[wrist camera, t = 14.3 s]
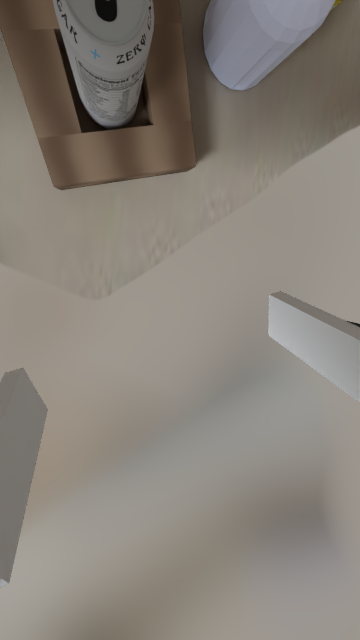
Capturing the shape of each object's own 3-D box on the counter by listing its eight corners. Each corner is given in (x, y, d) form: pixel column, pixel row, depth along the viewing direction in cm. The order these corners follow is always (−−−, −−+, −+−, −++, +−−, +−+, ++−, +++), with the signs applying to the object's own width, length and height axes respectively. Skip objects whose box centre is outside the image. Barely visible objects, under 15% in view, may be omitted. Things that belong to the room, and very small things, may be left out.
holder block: (61, 190, 29) (53, 186, 26) (-3, -5, 22) (-25, -47, 19) (186, 171, 32) (196, 166, 28) (165, -9, 25) (174, -46, 21)
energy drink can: (135, 66, 26) (157, -86, 13) (137, 134, 28) (159, 66, 15) (75, 56, 25) (31, -127, 11) (83, 129, 27) (55, 48, 14)
